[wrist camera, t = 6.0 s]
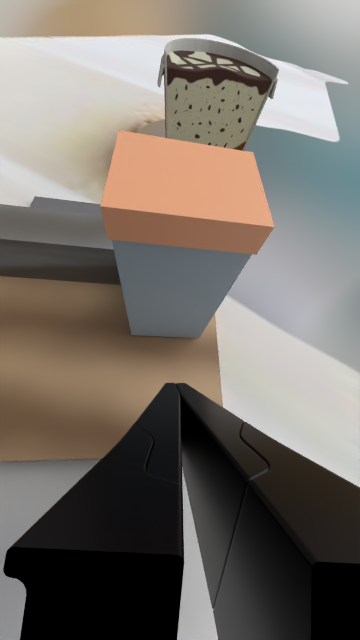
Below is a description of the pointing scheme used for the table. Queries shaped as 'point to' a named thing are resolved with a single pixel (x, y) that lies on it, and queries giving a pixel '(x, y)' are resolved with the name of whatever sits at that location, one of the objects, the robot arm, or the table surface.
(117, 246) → the orange-capped grey pillar
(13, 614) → the table surface
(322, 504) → the robot arm
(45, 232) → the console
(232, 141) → the food container
